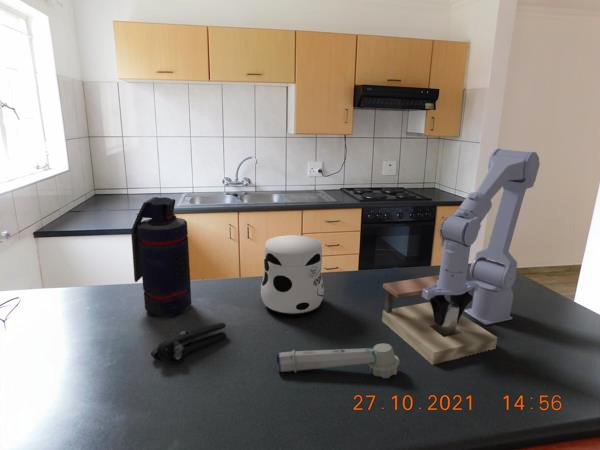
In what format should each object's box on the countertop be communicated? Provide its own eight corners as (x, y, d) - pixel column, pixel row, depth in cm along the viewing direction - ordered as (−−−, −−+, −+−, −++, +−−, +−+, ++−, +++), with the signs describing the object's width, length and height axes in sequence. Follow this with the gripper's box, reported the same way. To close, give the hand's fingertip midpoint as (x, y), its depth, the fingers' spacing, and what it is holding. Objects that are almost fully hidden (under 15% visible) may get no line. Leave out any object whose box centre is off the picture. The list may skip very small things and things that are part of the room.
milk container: (335, 309, 112) (339, 247, 107) (281, 327, 102) (282, 259, 97) (300, 287, 125) (301, 230, 120) (249, 300, 116) (249, 239, 111)
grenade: (196, 299, 116) (191, 195, 107) (184, 320, 104) (177, 205, 96) (148, 297, 116) (139, 193, 108) (130, 318, 104) (118, 204, 96)
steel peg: (451, 327, 99) (456, 301, 97) (457, 336, 95) (462, 309, 93) (435, 326, 99) (439, 300, 97) (440, 335, 95) (444, 308, 93)
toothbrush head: (277, 346, 87) (394, 334, 86) (281, 373, 89) (396, 362, 88) (276, 361, 82) (400, 349, 81) (280, 389, 84) (402, 377, 83)
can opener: (163, 374, 84) (161, 350, 82) (148, 359, 88) (146, 336, 87) (235, 342, 96) (234, 320, 94) (218, 330, 100) (217, 309, 99)
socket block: (438, 309, 113) (443, 274, 110) (497, 348, 95) (504, 307, 92) (379, 320, 106) (383, 283, 103) (430, 365, 88) (436, 321, 85)
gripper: (465, 259, 99) (458, 309, 103) (416, 265, 94) (410, 319, 98) (488, 269, 93) (479, 323, 96) (436, 277, 88) (429, 333, 91)
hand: (446, 322), depth 97 cm, fingers closed on steel peg, 4 cm apart
